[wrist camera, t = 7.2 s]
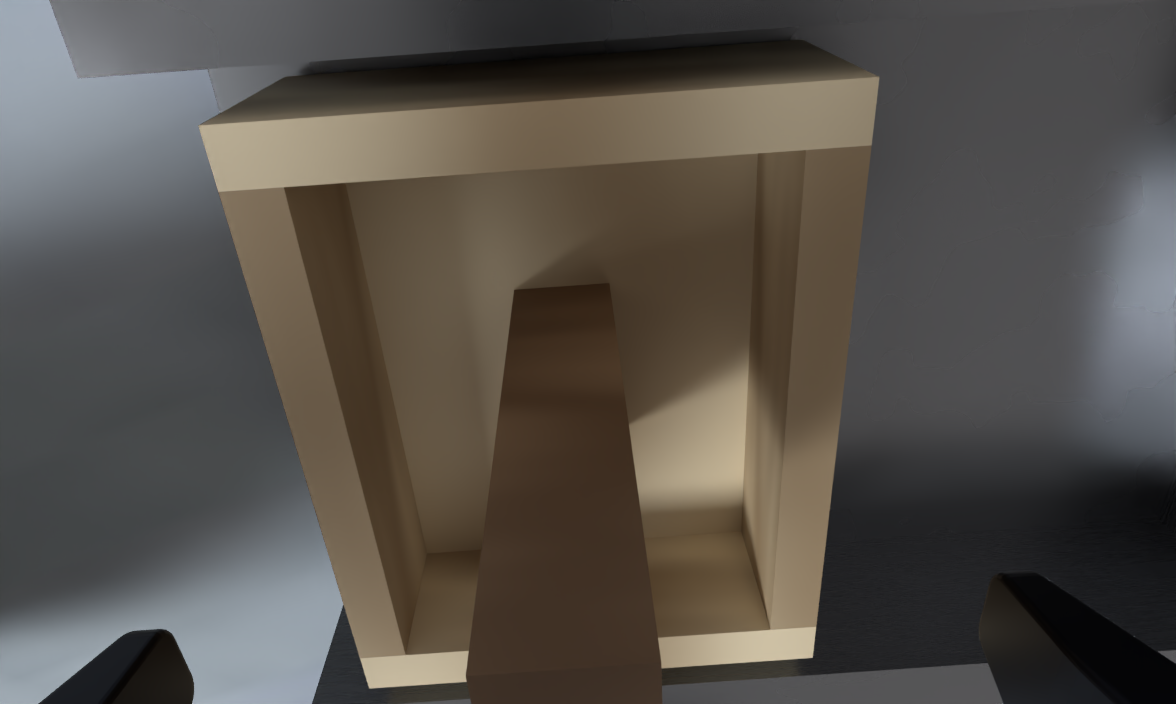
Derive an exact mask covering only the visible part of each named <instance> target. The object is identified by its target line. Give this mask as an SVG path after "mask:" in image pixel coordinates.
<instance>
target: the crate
mask: <svg viewBox="0 0 1176 704" xmlns="http://www.w3.org/2000/svg"><path fill="white" fill-rule="evenodd" d="M878 85H879V76H877V75H875V74H872V73H870V72H868V71H866V70H864V69H862V68H860V67H858V66H856V65H854V64H852V63H850V62H848V61H846V60H843V59H841V58H839V57H837V56H835V55H833V54H831V53H829V52H827V51H825V50H823V49H821V48H819V47H817V46H815V45H812V44H810V43H808V42H806V41H804V40H790V41H776V42H762V43H748V44H734V45H720V46H706V47H692V48H678V49H664V50H650V51H636V52H622V53H608V54H594V55H581V56H567V57H553V58H539V59H525V60H511V61H497V62H483V63H469V64H455V65H441V66H427V67H413V68H399V69H385V70H371V71H357V72H343V73H330V74H316V75H302V76H288V77H284V78H282V79H280V80H279V81H277V82H275V83H273V84H272V85H270V86H268V87H266V88H264V89H263V90H261V91H259V92H257V93H256V94H254V95H252V96H250V97H248V98H247V99H245V100H243V101H241V102H239V103H238V104H236V105H234V106H232V107H231V108H229V109H227V110H225V111H223V112H222V113H220V114H218V115H216V116H215V117H213V118H211V119H209V120H207V121H206V122H204V123H202V124H200V125H198V126H199V130H200V133H201V136H202V140H203V143H204V146H205V149H206V153H207V156H208V159H209V163H210V166H211V169H212V173H213V176H214V179H215V182H216V186H217V189H218V192H219V196H220V199H221V202H222V205H223V209H224V212H225V215H226V219H227V222H228V225H229V229H230V232H231V235H232V238H233V242H234V245H235V248H236V252H237V255H238V258H239V261H240V265H241V268H242V271H243V275H244V278H245V281H246V285H247V288H248V291H249V294H250V298H251V301H252V304H253V308H254V311H255V314H256V317H257V321H258V324H259V327H260V331H261V334H262V337H263V341H264V344H265V347H266V350H267V354H268V357H269V360H270V364H271V367H272V370H273V373H274V377H275V380H276V383H277V387H278V390H279V393H280V397H281V400H282V403H283V406H284V410H285V413H286V416H287V420H288V423H289V426H290V429H291V433H292V436H293V439H294V443H295V446H296V449H297V453H298V456H299V459H300V462H301V466H302V469H303V472H304V476H305V479H306V482H307V485H308V489H309V492H310V495H311V499H312V502H313V505H314V509H315V512H316V515H317V518H318V522H319V525H320V528H321V532H322V535H323V538H324V541H325V545H326V548H327V551H328V555H329V558H330V561H331V565H332V568H333V571H334V574H335V578H336V581H337V584H338V588H339V591H340V594H341V597H342V601H343V604H344V607H345V611H346V614H347V617H348V621H349V624H350V627H351V630H352V634H353V637H354V640H355V644H356V647H357V650H358V653H359V657H360V660H361V663H362V667H363V670H364V673H365V677H366V680H367V683H368V686H369V689H370V688H385V687H399V686H414V685H428V684H443V683H457V682H467V685H468V690H469V695H470V700H471V704H662V668H674V667H688V666H703V665H717V664H732V663H746V662H761V661H775V660H789V659H804V658H813V651H814V642H815V633H816V625H817V616H818V607H819V599H820V590H821V581H822V572H823V564H824V555H825V546H826V538H827V529H828V520H829V512H830V503H831V494H832V485H833V477H834V468H835V459H836V451H837V442H838V433H839V425H840V416H841V407H842V398H843V390H844V381H845V372H846V364H847V355H848V346H849V338H850V329H851V320H852V311H853V303H854V294H855V285H856V277H857V268H858V259H859V251H860V242H861V233H862V224H863V216H864V207H865V198H866V190H867V181H868V172H869V164H870V155H871V146H872V138H873V129H874V120H875V111H876V103H877V94H878Z"/></svg>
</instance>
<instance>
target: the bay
mask: <svg viewBox="0 0 1176 704" xmlns="http://www.w3.org/2000/svg"><path fill="white" fill-rule="evenodd" d="M49 1H50V3H51V6H52V9H53V11H54V14H55V17H56V20H57V22H58V25H59V28H60V31H61V33H62V36H63V39H64V41H65V44H66V47H67V50H68V52H69V55H70V58H71V60H72V63H73V66H74V69H75V71H76V74H77V77H78V78H89V77H103V76H117V75H131V74H145V73H159V72H173V71H187V70H201V69H208V72H209V76H210V79H211V83H212V86H213V90H214V93H215V97H216V100H217V104H218V107H219V111H220V113H222V112H223V111H225V110H227V109H229V108H231V107H232V106H234V105H236V104H238V103H239V102H241V101H243V100H245V99H247V98H248V97H250V96H252V95H254V94H256V93H257V92H259V91H261V90H263V89H264V88H266V87H268V86H270V85H272V84H273V83H275V82H277V81H279V80H280V79H282V78H284V77H288V76H302V75H316V74H330V73H343V72H357V71H371V70H385V69H399V68H413V67H427V66H441V65H455V64H469V63H483V62H497V61H511V60H525V59H539V58H553V57H567V56H581V55H594V54H608V53H622V52H636V51H650V50H664V49H678V48H692V47H706V46H720V45H734V44H748V43H762V42H776V41H790V40H804V41H806V42H808V43H810V44H812V45H815V46H817V47H819V48H821V49H823V50H825V51H827V52H829V53H831V54H833V55H835V56H837V57H839V58H841V59H843V60H846V61H848V62H850V63H852V64H854V65H856V66H858V67H860V68H862V69H864V70H866V71H868V72H870V73H872V74H875V75H877V76H879V85H878V94H877V103H876V111H875V120H874V129H873V138H872V146H871V155H870V164H869V172H868V181H867V190H866V198H865V207H864V216H863V224H862V233H861V242H860V251H859V259H858V268H857V277H856V285H855V294H854V303H853V311H852V320H851V329H850V338H849V346H848V355H847V364H846V372H845V381H844V390H843V398H842V407H841V416H840V425H839V433H838V442H837V451H836V459H835V468H834V477H833V485H832V494H831V503H830V512H829V520H828V529H827V538H826V546H825V555H824V564H823V572H822V581H821V590H820V599H819V607H818V616H817V625H816V633H815V642H814V651H813V658H804V659H789V660H775V661H761V662H746V663H732V664H717V665H703V666H688V667H674V668H662V704H1003V702H1002V699H1001V696H1000V694H999V691H998V689H997V686H996V683H995V681H994V678H993V675H992V673H991V670H990V668H989V665H988V662H987V660H986V657H985V654H984V652H983V649H982V646H981V643H980V638H979V622H980V618H981V614H982V610H983V606H984V602H985V598H986V595H987V591H988V587H989V583H990V580H991V578H992V577H993V576H994V575H995V574H996V573H999V572H1009V571H1024V570H1030V571H1035V572H1037V573H1039V574H1041V575H1043V576H1044V577H1046V578H1047V579H1049V580H1050V581H1052V582H1053V583H1055V584H1056V585H1058V586H1059V587H1061V588H1063V589H1064V590H1066V591H1067V592H1069V593H1070V594H1072V595H1073V596H1075V597H1076V598H1078V599H1079V600H1081V601H1082V602H1084V603H1085V604H1087V605H1088V606H1090V607H1091V608H1093V609H1094V610H1096V611H1097V612H1099V613H1100V614H1102V615H1103V616H1105V617H1106V618H1108V619H1109V620H1111V621H1112V622H1114V623H1115V624H1117V625H1118V626H1120V627H1121V628H1123V629H1124V630H1126V631H1128V632H1129V633H1131V634H1132V635H1134V636H1135V637H1137V638H1138V639H1140V640H1141V641H1143V642H1144V643H1146V644H1147V645H1149V646H1150V647H1152V648H1153V649H1155V650H1156V651H1158V652H1159V653H1161V654H1162V655H1164V656H1165V657H1167V658H1168V659H1170V660H1171V661H1173V662H1174V663H1176V0H49ZM312 704H471V700H470V695H469V690H468V685H467V682H457V683H443V684H428V685H414V686H399V687H385V688H370V689H369V686H368V683H367V680H366V677H365V673H364V670H363V667H362V663H361V660H360V657H359V653H358V650H357V647H356V644H355V640H354V637H353V634H352V630H351V627H350V624H349V621H348V617H347V614H346V611H345V607H344V605H343V608H342V611H341V614H340V617H339V620H338V623H337V627H336V630H335V633H334V636H333V639H332V642H331V645H330V649H329V652H328V655H327V658H326V661H325V664H324V668H323V671H322V674H321V677H320V680H319V683H318V686H317V690H316V693H315V696H314V699H313V702H312Z"/></svg>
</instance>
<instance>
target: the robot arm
mask: <svg viewBox="0 0 1176 704" xmlns="http://www.w3.org/2000/svg"><path fill="white" fill-rule="evenodd" d="M979 638H980V643H981V646H982V649H983V652H984V654H985V657H986V660H987V662H988V665H989V668H990V670H991V673H992V675H993V678H994V681H995V683H996V686H997V689H998V691H999V694H1000V696H1001V699H1002V702H1003V704H1176V663H1174V662H1173V661H1171V660H1170V659H1168V658H1167V657H1165V656H1164V655H1162V654H1161V653H1159V652H1158V651H1156V650H1155V649H1153V648H1152V647H1150V646H1149V645H1147V644H1146V643H1144V642H1143V641H1141V640H1140V639H1138V638H1137V637H1135V636H1134V635H1132V634H1131V633H1129V632H1128V631H1126V630H1124V629H1123V628H1121V627H1120V626H1118V625H1117V624H1115V623H1114V622H1112V621H1111V620H1109V619H1108V618H1106V617H1105V616H1103V615H1102V614H1100V613H1099V612H1097V611H1096V610H1094V609H1093V608H1091V607H1090V606H1088V605H1087V604H1085V603H1084V602H1082V601H1081V600H1079V599H1078V598H1076V597H1075V596H1073V595H1072V594H1070V593H1069V592H1067V591H1066V590H1064V589H1063V588H1061V587H1059V586H1058V585H1056V584H1055V583H1053V582H1052V581H1050V580H1049V579H1047V578H1046V577H1044V576H1043V575H1041V574H1039V573H1037V572H1035V571H1030V570H1024V571H1009V572H999V573H996V574H995V575H994V576H993V577H992V578H991V580H990V583H989V587H988V591H987V595H986V598H985V602H984V606H983V610H982V614H981V618H980V622H979ZM193 696H194V682H193V677H192V674H191V672H190V670H189V668H188V666H187V664H186V662H185V659H184V657H183V655H182V653H181V651H180V649H179V647H178V645H177V642H176V640H175V638H174V636H173V635H172V634H171V633H170V632H169V631H167V630H164V629H154V630H139V631H132V632H129V633H126V634H125V635H123V636H122V637H120V638H119V639H117V640H116V641H115V642H114V643H113V644H111V645H110V646H109V647H108V648H106V649H105V650H104V651H103V652H101V653H100V654H99V655H98V656H97V657H95V658H94V659H93V660H92V661H90V662H89V663H88V664H87V665H86V666H84V667H83V668H82V669H81V670H79V671H78V672H77V673H76V674H74V675H73V676H72V677H71V678H70V679H68V680H67V681H66V682H65V683H63V684H62V685H61V686H60V687H58V688H57V689H56V690H55V691H54V692H52V693H51V694H50V695H49V696H47V697H46V698H45V699H44V700H42V701H41V702H40V703H39V704H192V701H193Z"/></svg>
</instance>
